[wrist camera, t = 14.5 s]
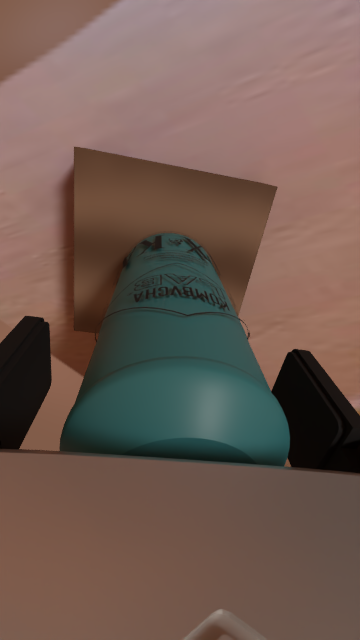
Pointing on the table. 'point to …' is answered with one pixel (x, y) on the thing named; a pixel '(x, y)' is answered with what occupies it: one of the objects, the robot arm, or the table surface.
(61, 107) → the table surface
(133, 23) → the table surface
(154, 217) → the walnut plinth
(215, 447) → the beverage bottle
